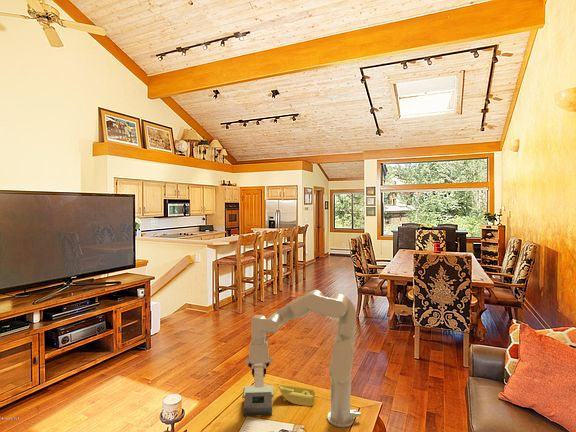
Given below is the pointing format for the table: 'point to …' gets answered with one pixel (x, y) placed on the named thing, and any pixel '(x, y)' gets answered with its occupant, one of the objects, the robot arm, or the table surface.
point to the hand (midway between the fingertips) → (259, 375)
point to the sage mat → (258, 389)
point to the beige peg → (258, 375)
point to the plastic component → (298, 395)
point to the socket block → (257, 404)
